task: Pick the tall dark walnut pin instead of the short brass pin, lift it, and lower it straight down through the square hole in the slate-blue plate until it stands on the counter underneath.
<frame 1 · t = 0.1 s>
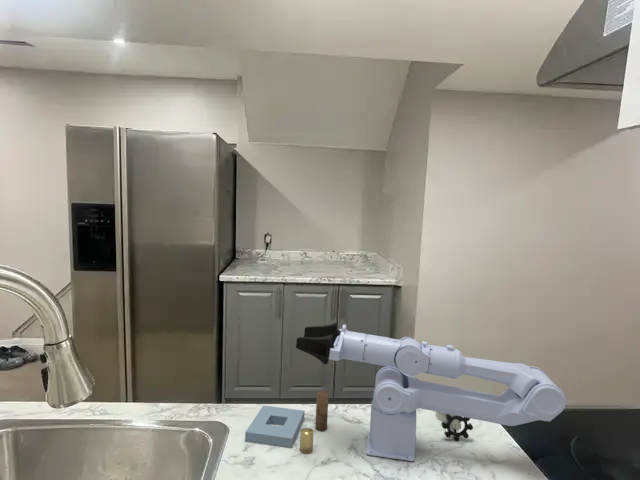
hand: (300, 337, 87), 22 cm above the worktop, tool horizontal, fingers open, 7 cm apart
brass pin: (306, 450, 84), on the worktop
valve: (448, 427, 95), on the worktop
walnut pin: (321, 428, 92), on the worktop
hole plate: (276, 429, 91), on the worktop
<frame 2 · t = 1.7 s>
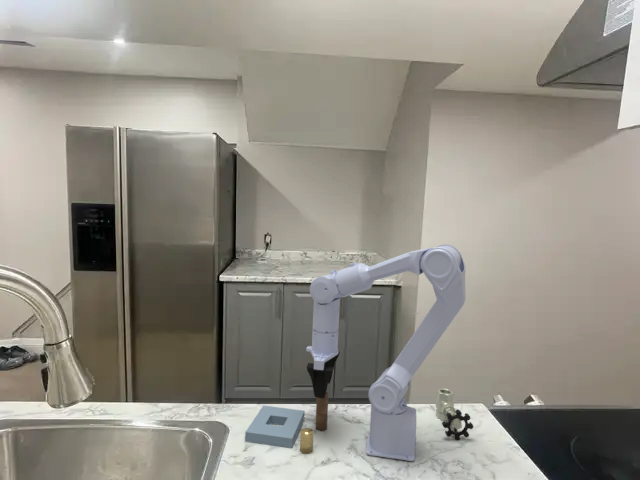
hand: (322, 389, 92), 9 cm above the worktop, tool pointing down, fingers open, 7 cm apart
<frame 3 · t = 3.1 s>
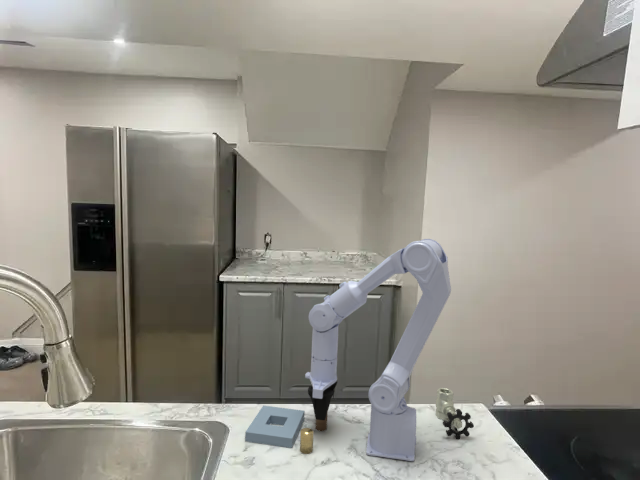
hand: (321, 415, 92), 3 cm above the worktop, tool pointing down, fingers closed on walnut pin, 3 cm apart
walnut pin: (321, 428, 92), on the worktop, touching gripper
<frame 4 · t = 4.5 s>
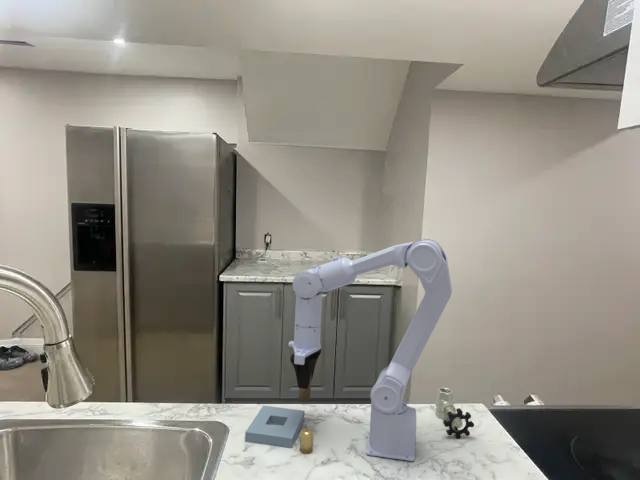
hand: (304, 384, 91), 10 cm above the worktop, tool pointing down, fingers closed on walnut pin, 3 cm apart
walnut pin: (304, 397, 91), point 7 cm above the worktop, touching gripper
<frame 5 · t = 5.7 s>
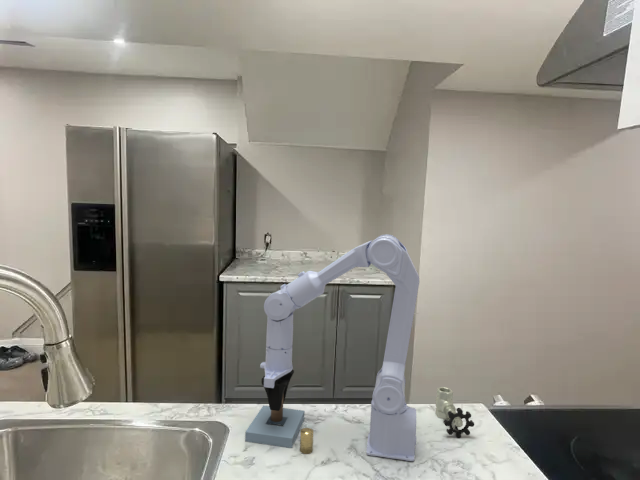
hand: (277, 406, 90), 5 cm above the worktop, tool pointing down, fingers closed on walnut pin, 3 cm apart
walnut pin: (276, 418, 91), point 2 cm above the worktop, touching gripper
when the fingers open (4 cm above the worktop, at t = 6.3 s): walnut pin drops 1 cm, resting in hole plate.
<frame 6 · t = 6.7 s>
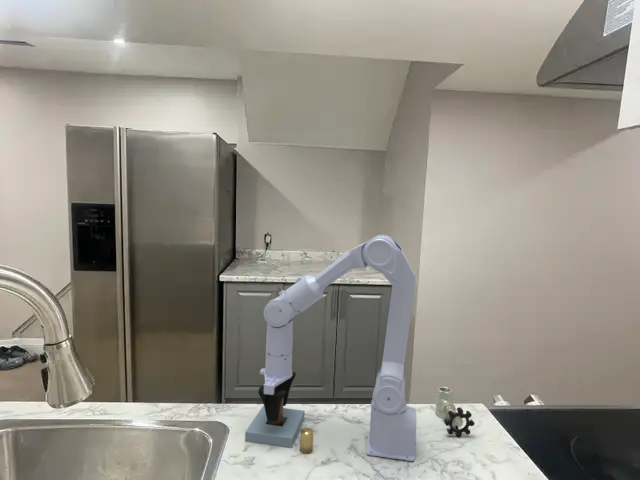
hand: (276, 412, 91), 4 cm above the worktop, tool pointing down, fingers open, 6 cm apart
walnut pin: (276, 429, 91), resting in hole plate
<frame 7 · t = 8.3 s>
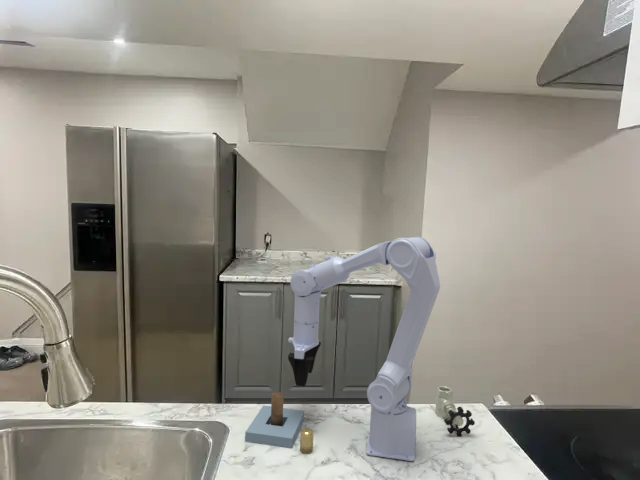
hand: (304, 378, 96), 9 cm above the worktop, tool pointing down, fingers open, 7 cm apart
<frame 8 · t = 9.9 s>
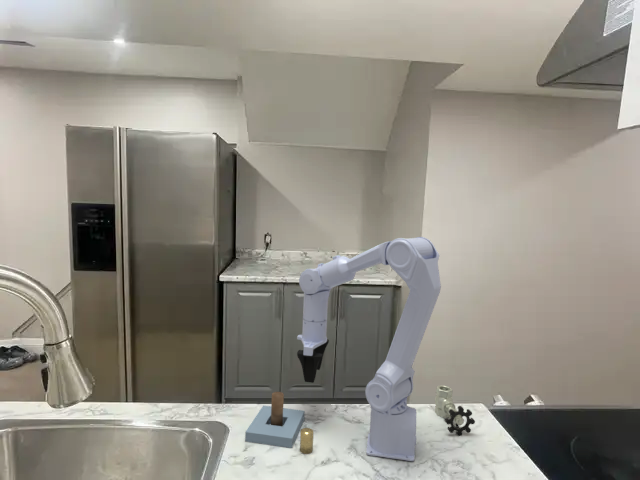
hand: (312, 375, 98), 9 cm above the worktop, tool pointing down, fingers open, 7 cm apart
at the end: walnut pin 0.0 cm off-centre on the hole plate, point 0.0 cm above the hole plate's base; walnut pin tilted 0°; brass pin moved 0.0 cm from its start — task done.
